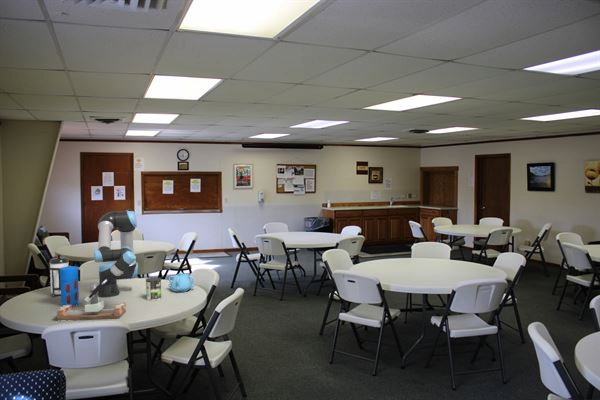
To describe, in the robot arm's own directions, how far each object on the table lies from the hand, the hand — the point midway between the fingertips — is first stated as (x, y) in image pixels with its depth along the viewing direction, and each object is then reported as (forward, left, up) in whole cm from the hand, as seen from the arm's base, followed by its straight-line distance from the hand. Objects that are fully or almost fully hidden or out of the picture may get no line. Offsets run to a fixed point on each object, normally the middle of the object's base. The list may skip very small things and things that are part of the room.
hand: (87, 299), depth 281 cm
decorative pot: (-58, +47, -11) cm, 76 cm away
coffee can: (-37, +31, -11) cm, 50 cm away
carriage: (0, +4, -6) cm, 7 cm away
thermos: (-30, -23, -11) cm, 39 cm away
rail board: (0, +2, -11) cm, 11 cm away
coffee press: (-57, -40, -11) cm, 70 cm away
